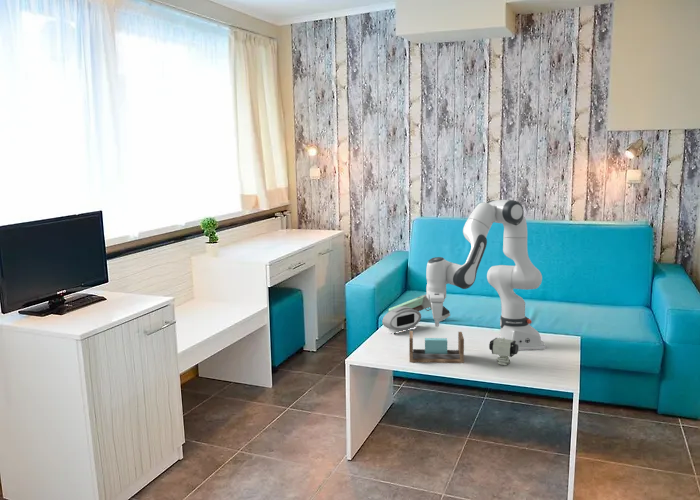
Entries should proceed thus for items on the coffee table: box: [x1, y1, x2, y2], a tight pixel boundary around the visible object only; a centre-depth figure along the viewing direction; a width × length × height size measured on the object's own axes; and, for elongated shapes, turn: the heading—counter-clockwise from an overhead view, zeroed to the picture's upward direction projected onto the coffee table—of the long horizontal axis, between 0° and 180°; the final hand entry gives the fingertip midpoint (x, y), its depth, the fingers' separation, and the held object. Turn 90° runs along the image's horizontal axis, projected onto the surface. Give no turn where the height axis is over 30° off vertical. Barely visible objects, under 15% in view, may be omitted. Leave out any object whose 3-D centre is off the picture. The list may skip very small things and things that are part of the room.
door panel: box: [424, 337, 448, 354], centre depth 271 cm, size 10×4×8 cm, turn 84°
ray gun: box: [388, 294, 451, 323], centre depth 339 cm, size 7×32×20 cm, turn 85°
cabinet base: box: [408, 330, 465, 364], centre depth 271 cm, size 24×12×11 cm, turn 84°
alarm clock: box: [382, 307, 422, 333], centre depth 318 cm, size 23×6×13 cm, turn 129°
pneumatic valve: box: [488, 337, 519, 367], centre depth 261 cm, size 6×12×12 cm, turn 55°
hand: (436, 323), depth 270 cm, fingers open, 8 cm apart
